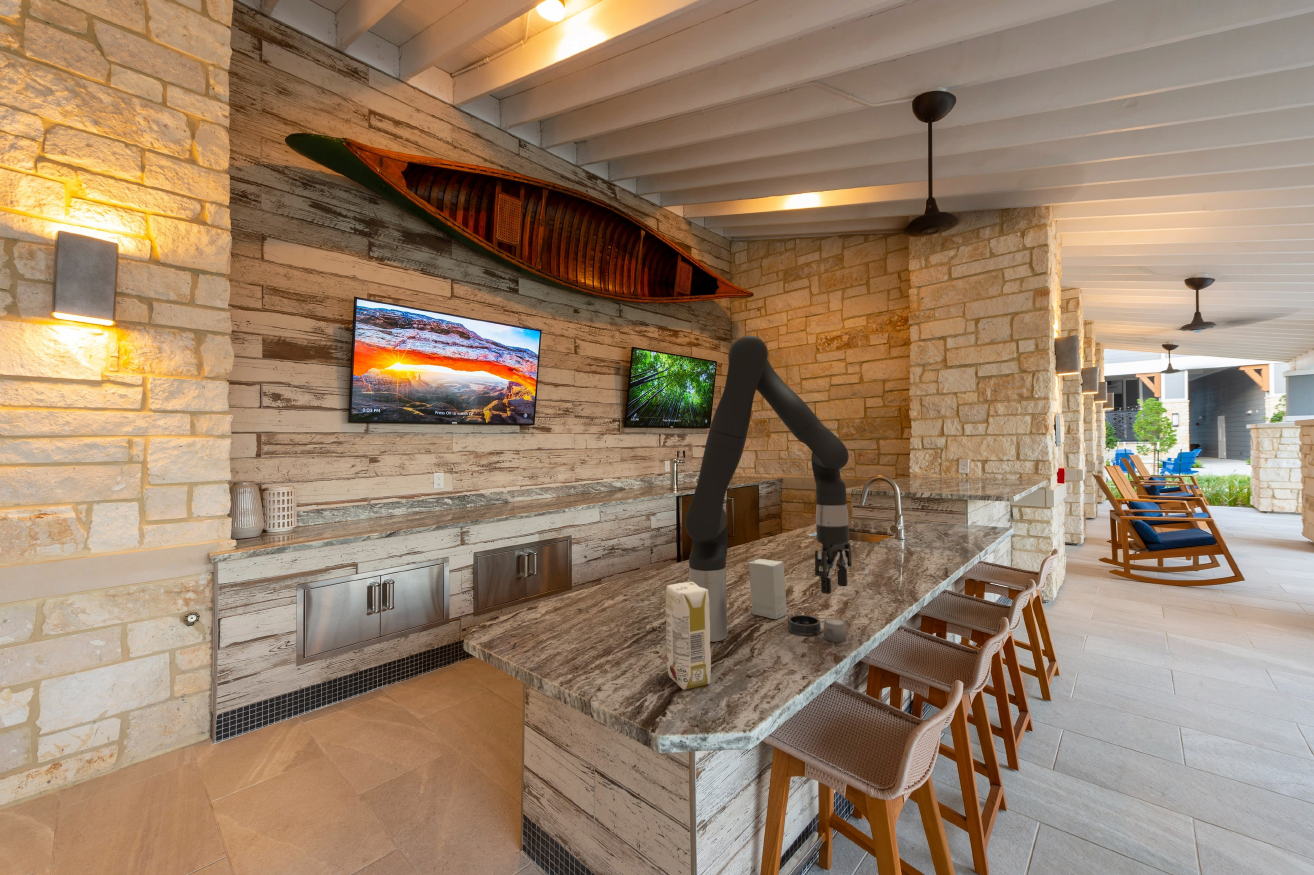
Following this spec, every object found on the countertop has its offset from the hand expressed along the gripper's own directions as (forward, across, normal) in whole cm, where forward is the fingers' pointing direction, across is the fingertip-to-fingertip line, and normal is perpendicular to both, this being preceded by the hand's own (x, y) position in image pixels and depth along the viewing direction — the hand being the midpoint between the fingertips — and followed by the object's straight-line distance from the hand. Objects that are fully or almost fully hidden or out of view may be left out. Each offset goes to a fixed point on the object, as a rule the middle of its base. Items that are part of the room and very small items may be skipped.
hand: (834, 589), depth 127 cm
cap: (+12, 0, 0) cm, 12 cm away
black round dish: (+12, 0, +9) cm, 15 cm away
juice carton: (+12, -41, +12) cm, 44 cm away
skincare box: (+12, +4, +22) cm, 25 cm away
